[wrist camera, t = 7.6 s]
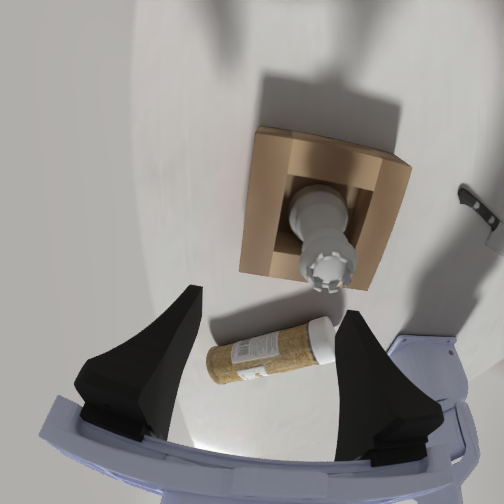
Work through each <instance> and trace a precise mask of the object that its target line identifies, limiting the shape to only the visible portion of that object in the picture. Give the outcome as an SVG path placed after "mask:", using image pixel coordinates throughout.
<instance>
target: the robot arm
mask: <svg viewBox="0 0 504 504" xmlns="http://www.w3.org/2000/svg"><path fill="white" fill-rule="evenodd" d="M202 292H203V287H201V286H196V285H189V286H188V287H187V288H186V289H185V291H184V292H183V293H182V294H181V295H180V296H179V297H178V298H177V299H176V301H175V302H174V303H173V304H172V305H171V306H170V307H169V308H168V309H167V310H166V311H165V312H164V313H163V314H161V315H160V316H159V317H158V318H157V319H156V320H155V321H154V322H152V323H151V324H150V325H149V326H148V327H146V328H145V329H144V330H142V331H141V332H140V333H138V334H137V335H136V336H134V337H132V338H131V339H129V340H128V341H126V342H125V343H123V344H121V345H119V346H117V347H116V348H113V349H112V350H110V351H108V352H106V353H104V354H101V355H99V356H96V357H94V358H91V359H88V360H87V361H86V363H85V364H84V366H83V367H82V369H81V370H80V372H79V374H78V376H77V378H76V380H75V382H74V386H75V388H76V390H77V391H78V393H79V394H80V396H81V397H82V398H83V400H84V401H85V404H84V406H83V407H81V406H80V405H79V404H77V403H75V402H73V401H71V400H68V399H66V398H64V397H62V396H60V395H58V396H57V398H56V400H55V401H54V403H53V405H52V408H51V410H50V412H49V414H48V416H47V418H46V420H45V422H44V424H43V427H42V429H41V431H40V433H39V437H41V438H42V439H43V440H44V441H45V442H47V443H48V444H50V445H51V446H52V447H54V448H55V449H56V450H57V451H59V452H60V453H62V454H64V455H66V456H67V457H69V458H71V459H73V460H75V461H77V462H79V463H81V464H83V465H85V466H87V467H89V468H92V469H94V470H96V471H98V472H100V473H102V474H105V475H107V476H109V477H111V478H114V479H116V480H119V481H121V482H124V483H126V484H129V485H132V486H134V487H137V488H140V489H143V490H146V491H148V492H152V493H155V494H158V495H161V496H162V499H161V503H160V504H391V503H396V502H400V501H404V500H408V499H411V500H414V501H416V502H417V503H418V504H463V500H462V493H461V485H462V484H463V482H464V481H465V480H466V478H467V477H468V476H469V475H470V474H471V472H472V471H473V470H474V468H475V467H476V466H477V464H478V462H479V457H480V450H479V445H478V436H477V431H476V427H475V424H474V420H473V418H472V414H471V411H470V409H469V406H468V404H467V403H466V402H465V400H466V398H467V393H468V381H467V377H466V374H465V372H464V369H463V366H462V364H461V361H460V359H459V356H458V354H457V351H456V349H455V347H454V344H455V343H456V341H457V339H456V337H433V336H411V335H400V336H398V337H397V338H396V340H395V341H394V343H393V344H392V346H391V347H390V349H389V350H388V352H387V353H386V352H385V350H384V349H383V348H382V346H381V345H380V343H379V342H378V340H377V339H376V337H375V336H374V334H373V333H372V331H371V330H370V328H369V327H368V325H367V323H366V322H365V320H364V319H363V317H362V315H361V314H360V312H359V311H354V310H347V312H346V314H345V316H344V319H343V321H342V323H341V325H340V327H339V329H338V331H337V333H336V335H335V361H336V369H337V376H338V385H339V395H340V410H339V429H338V440H337V448H336V455H335V460H334V462H303V461H282V460H270V459H260V458H251V457H243V456H236V455H229V454H223V453H217V452H212V451H207V450H202V449H197V448H192V447H188V446H184V445H179V444H175V443H172V442H168V441H167V438H168V431H169V427H170V422H171V417H172V412H173V408H174V403H175V399H176V395H177V391H178V387H179V383H180V379H181V376H182V373H183V370H184V367H185V364H186V362H187V359H188V357H189V354H190V352H191V349H192V346H193V344H194V341H195V339H196V336H197V333H198V330H199V326H200V322H201V318H202ZM463 455H464V456H463ZM461 456H463V458H462V459H461V461H459V462H457V463H455V464H453V465H451V461H453V460H455V459H457V458H459V457H461Z"/></svg>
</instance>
